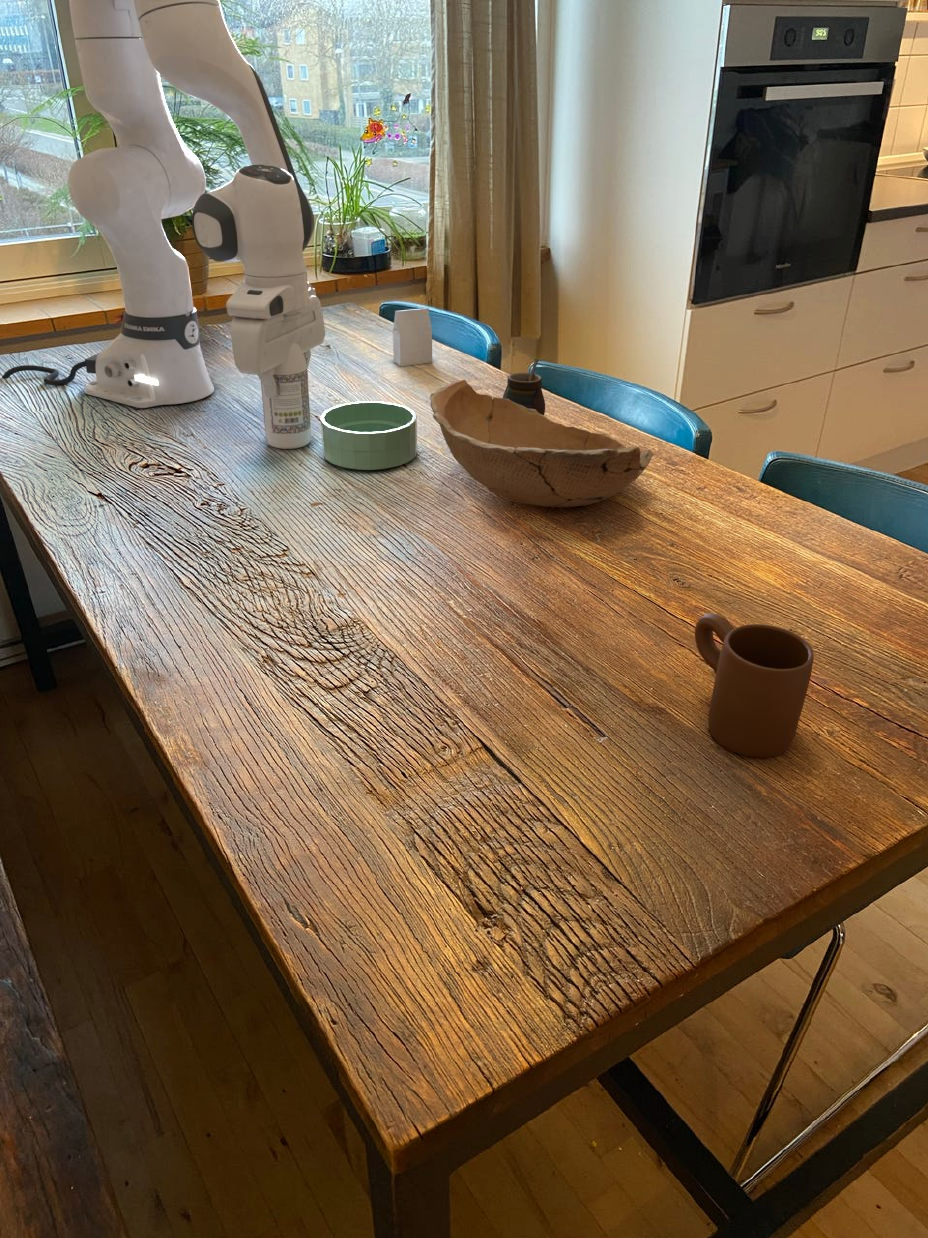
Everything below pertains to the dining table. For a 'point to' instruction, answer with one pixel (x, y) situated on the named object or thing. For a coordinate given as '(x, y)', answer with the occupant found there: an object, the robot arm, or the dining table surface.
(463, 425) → the ceramic bowl
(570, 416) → the dining table surface
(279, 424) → the bath foam
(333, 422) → the green pet bowl
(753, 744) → the mug
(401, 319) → the white boxy piece
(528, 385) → the mate gourd
